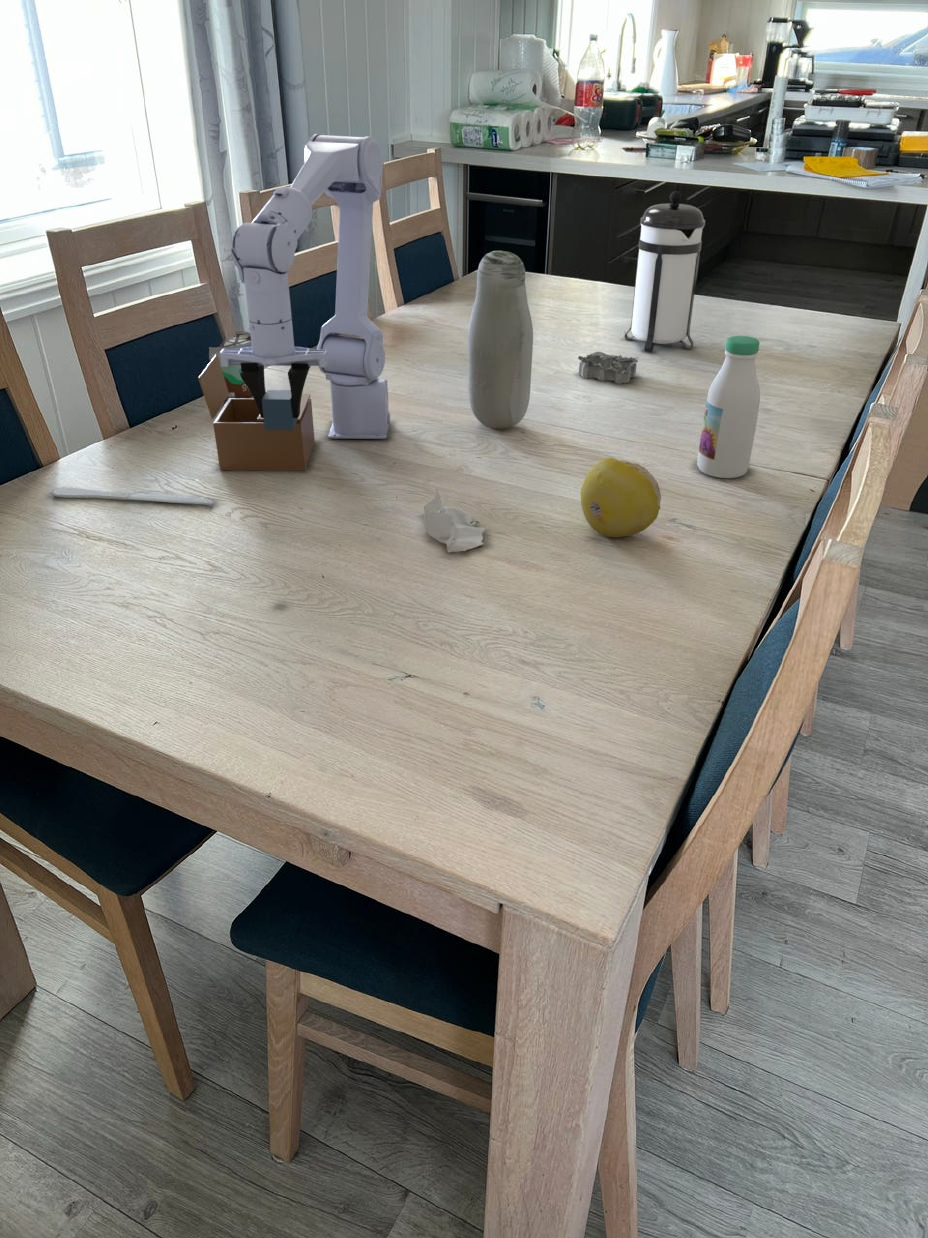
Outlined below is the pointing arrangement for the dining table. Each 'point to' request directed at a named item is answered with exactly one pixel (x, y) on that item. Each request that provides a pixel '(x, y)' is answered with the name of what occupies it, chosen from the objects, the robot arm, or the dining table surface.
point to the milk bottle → (731, 412)
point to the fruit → (619, 498)
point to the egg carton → (608, 367)
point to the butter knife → (127, 496)
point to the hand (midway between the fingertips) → (280, 415)
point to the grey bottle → (500, 342)
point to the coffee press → (666, 273)
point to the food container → (232, 372)
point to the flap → (213, 386)
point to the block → (278, 410)
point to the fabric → (451, 526)
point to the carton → (262, 438)
